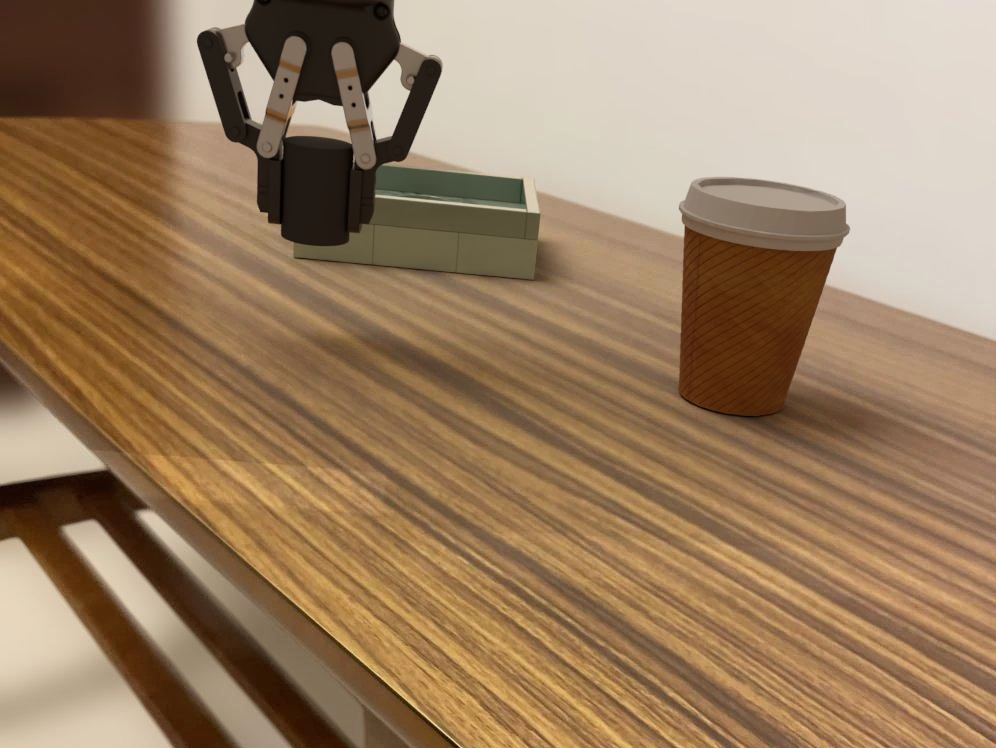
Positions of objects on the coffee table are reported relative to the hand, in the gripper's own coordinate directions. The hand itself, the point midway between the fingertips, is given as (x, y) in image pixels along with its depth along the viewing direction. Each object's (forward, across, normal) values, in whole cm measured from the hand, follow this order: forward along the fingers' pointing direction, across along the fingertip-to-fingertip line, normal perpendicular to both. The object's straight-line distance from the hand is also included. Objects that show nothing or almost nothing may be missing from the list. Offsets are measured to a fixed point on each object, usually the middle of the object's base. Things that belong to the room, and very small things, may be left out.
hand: (316, 224), depth 73 cm
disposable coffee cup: (+7, +25, -5) cm, 27 cm away
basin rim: (+4, +5, +25) cm, 26 cm away
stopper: (+1, 0, 0) cm, 1 cm away
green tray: (+7, +5, +25) cm, 26 cm away
